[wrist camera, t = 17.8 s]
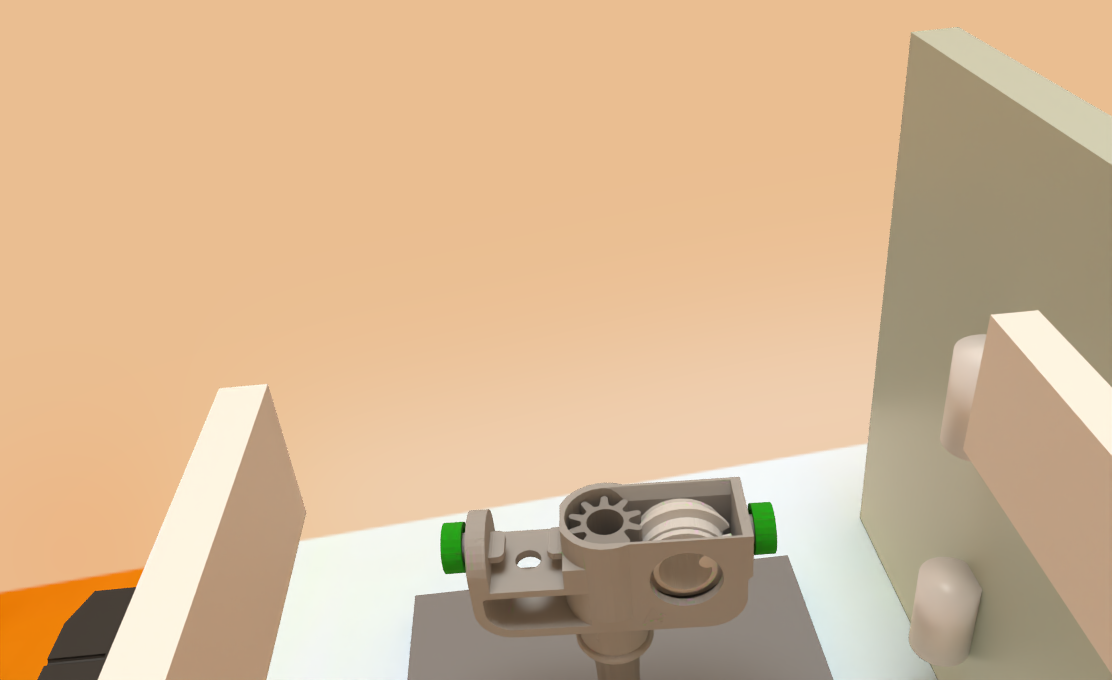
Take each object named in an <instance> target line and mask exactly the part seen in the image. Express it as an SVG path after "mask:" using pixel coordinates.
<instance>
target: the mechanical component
mask: <svg viewBox="0 0 1112 680" xmlns="http://www.w3.org/2000/svg"><path fill="white" fill-rule="evenodd" d="M776 551H777V531H776V522H775V516H774V511H773V507H772V505H771V503H770V502H763V503H749V504H748V509H747V505H746V501H745V497H744V493H743V489H742V484H741V480H740V477H731V478H716V479H701V480H686V481H671V482H656V483H641V484H626V485H622V484H617V483H598V484H593V485H588V486H586V487H583V488H580V489H578V490H576V491H574V492H573V493H571V494H570V495H569V496H567V497H566V498H565V500H564V501H563V502H562V503H561V504H560V521H559V527H555V528H551V529H542V530H526V531H511V532H502V531H495V529H494V523H493V518H492V514H491V511H490V510H489V509H488V510H473V511H469V512H468V515H467V520H466V524H465V522H454V523H444V524H443V526H442V530H441V560H442V566H443V570H444V572H445V574H453V573H466V576H467V582H468V588H469V592H470V597H471V602H472V607H473V612H474V616H475V618H476V620H477V622H478V623H479V624H480V625H481V626H482V627H483V628H484V629H486V630H487V631H489V632H491V633H493V634H495V635H499V636H502V637H509V638H518V637H536V636H553V635H570V634H576V638H577V642H578V644H579V646H580V648H581V649H582V651H583V652H584V653H585V654H586V655H588V656H589V657H590V658H592V659H593V660H595V664H596V670H597V676H598V680H640V656H641V655H643V654H644V653H645V652H646V651H647V649H648V648H649V647H650V645H651V643H652V640H653V637H654V630H657V629H674V628H692V627H709V626H717V625H720V624H724V623H726V622H729V621H731V620H732V619H734V618H736V617H737V616H738V615H739V614H740V613H741V612H742V611H743V610H744V608H745V606H746V604H747V601H748V580H749V579H750V578H751V577H753V559H754V555H761V554H774V553H776ZM526 557H536V558H538V559H539V560H541V562H540V564H539V565H538V566H537V567H530V568H519V567H518V566H517V564H518V562H519V561H520V560H522V559H523V558H526Z"/></svg>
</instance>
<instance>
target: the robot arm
mask: <svg viewBox="0 0 1112 680" xmlns="http://www.w3.org/2000/svg"><path fill="white" fill-rule="evenodd" d="M963 450H964V451H965V453H966V454H967V456H968V457H969V459H970V461H971V462H972V464H973V465H974V467H975V468H976V470H977V471H978V473H979V474H980V476H981V477H982V479H983V480H984V482H985V483H986V485H987V486H988V488H989V489H990V491H991V492H992V494H993V495H994V497H995V498H996V500H997V501H998V503H999V504H1000V506H1001V507H1002V509H1003V510H1004V512H1005V513H1006V515H1007V517H1008V518H1009V520H1010V521H1011V523H1012V524H1013V526H1014V527H1015V529H1016V530H1017V532H1018V533H1019V535H1020V536H1021V538H1022V539H1023V541H1024V542H1025V544H1026V545H1027V547H1028V548H1029V550H1030V551H1031V553H1032V554H1033V556H1034V557H1035V559H1036V560H1037V562H1038V563H1039V565H1040V566H1041V568H1042V569H1043V571H1044V573H1045V574H1046V576H1047V577H1048V579H1049V580H1050V582H1051V583H1052V585H1053V586H1054V588H1055V589H1056V591H1057V592H1058V594H1059V595H1060V597H1061V598H1062V600H1063V601H1064V603H1065V604H1066V606H1067V607H1068V609H1069V610H1070V612H1071V613H1072V615H1073V616H1074V618H1075V619H1076V621H1077V622H1078V624H1079V626H1080V627H1081V629H1082V630H1083V632H1084V633H1085V635H1086V636H1087V638H1088V639H1089V641H1090V642H1091V644H1092V645H1093V647H1094V648H1095V650H1096V651H1097V653H1098V654H1099V656H1100V657H1101V659H1102V660H1103V662H1104V663H1105V665H1106V666H1107V668H1108V669H1109V671H1110V672H1111V674H1112V387H1111V386H1110V385H1109V384H1108V383H1107V382H1106V381H1105V380H1104V379H1103V378H1102V377H1101V375H1100V374H1099V373H1098V372H1097V371H1096V370H1095V369H1094V368H1093V367H1092V366H1091V365H1090V364H1089V363H1088V362H1087V361H1086V360H1085V359H1084V358H1083V357H1082V356H1081V354H1080V353H1079V352H1078V351H1077V350H1076V349H1075V348H1074V347H1073V346H1072V345H1071V344H1070V343H1069V342H1068V341H1067V340H1066V339H1065V338H1064V337H1063V336H1062V335H1061V333H1060V332H1059V331H1058V330H1057V329H1056V328H1055V327H1054V326H1053V325H1052V324H1051V323H1050V322H1049V321H1048V320H1047V319H1046V318H1045V317H1044V316H1043V315H1042V314H1041V312H1040V311H1039V310H1036V311H1025V312H1015V313H1004V314H994V315H990V320H989V325H988V330H987V335H986V339H985V344H984V349H983V354H982V359H981V364H980V369H979V374H978V378H977V383H976V388H975V393H974V398H973V403H972V408H971V413H970V418H969V422H968V427H967V432H966V437H965V442H964V447H963ZM305 515H306V511H305V507H304V504H303V500H302V497H301V494H300V491H299V488H298V484H297V480H296V477H295V474H294V470H293V467H292V464H291V460H290V457H289V454H288V450H287V447H286V444H285V440H284V437H283V434H282V430H281V427H280V424H279V420H278V417H277V413H276V410H275V407H274V403H273V400H272V397H271V393H270V390H269V387H268V384H262V385H251V386H241V387H230V388H220V389H219V390H218V393H217V395H216V398H215V400H214V403H213V405H212V407H211V410H210V412H209V414H208V417H207V419H206V422H205V424H204V426H203V429H202V431H201V434H200V436H199V438H198V441H197V444H196V446H195V448H194V450H193V453H192V455H191V458H190V460H189V462H188V465H187V467H186V470H185V472H184V474H183V477H182V479H181V481H180V484H179V487H178V489H177V491H176V494H175V496H174V498H173V501H172V503H171V506H170V508H169V510H168V513H167V515H166V518H165V520H164V522H163V525H162V527H161V529H160V532H159V534H158V537H157V539H156V541H155V544H154V546H153V549H152V551H151V553H150V556H149V558H148V560H147V563H146V565H145V568H144V570H143V572H142V575H141V577H140V580H139V582H138V584H137V587H133V588H123V589H112V590H102V591H95V592H94V593H93V594H92V595H91V596H90V597H89V598H88V599H87V600H86V601H85V602H84V603H83V604H82V606H81V607H80V608H79V609H78V610H77V611H76V612H75V613H74V614H73V615H72V616H71V617H70V618H69V619H68V620H67V621H66V623H65V624H64V626H63V628H62V630H61V632H60V634H59V636H58V638H57V640H56V642H55V644H54V646H53V649H52V651H51V653H50V655H49V657H48V665H47V666H44V667H43V669H42V671H41V673H40V676H39V678H38V680H266V678H267V674H268V670H269V666H270V662H271V657H272V653H273V649H274V645H275V641H276V637H277V632H278V628H279V624H280V620H281V616H282V611H283V607H284V603H285V599H286V595H287V591H288V586H289V582H290V578H291V574H292V570H293V565H294V561H295V557H296V553H297V549H298V545H299V540H300V536H301V532H302V528H303V523H304V519H305Z"/></svg>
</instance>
